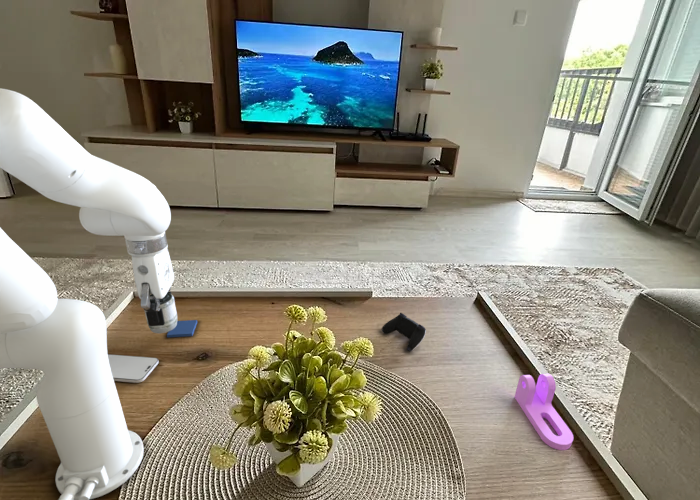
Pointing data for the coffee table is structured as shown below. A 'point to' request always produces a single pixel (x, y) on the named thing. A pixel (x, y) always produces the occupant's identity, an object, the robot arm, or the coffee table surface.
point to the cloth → (183, 329)
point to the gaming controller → (406, 330)
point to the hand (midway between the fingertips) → (161, 315)
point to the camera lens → (166, 314)
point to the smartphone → (131, 367)
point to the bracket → (543, 410)
